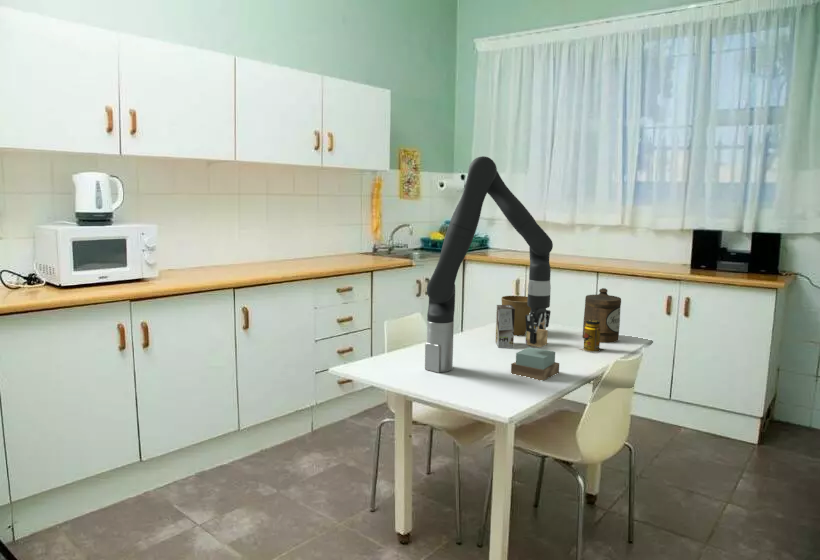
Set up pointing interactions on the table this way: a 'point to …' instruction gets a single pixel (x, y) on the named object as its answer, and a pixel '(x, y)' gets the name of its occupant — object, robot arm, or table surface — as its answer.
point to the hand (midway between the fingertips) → (537, 341)
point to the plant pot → (518, 312)
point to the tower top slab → (535, 358)
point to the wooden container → (604, 314)
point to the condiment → (592, 336)
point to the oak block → (538, 338)
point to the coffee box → (505, 326)
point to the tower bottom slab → (535, 371)
